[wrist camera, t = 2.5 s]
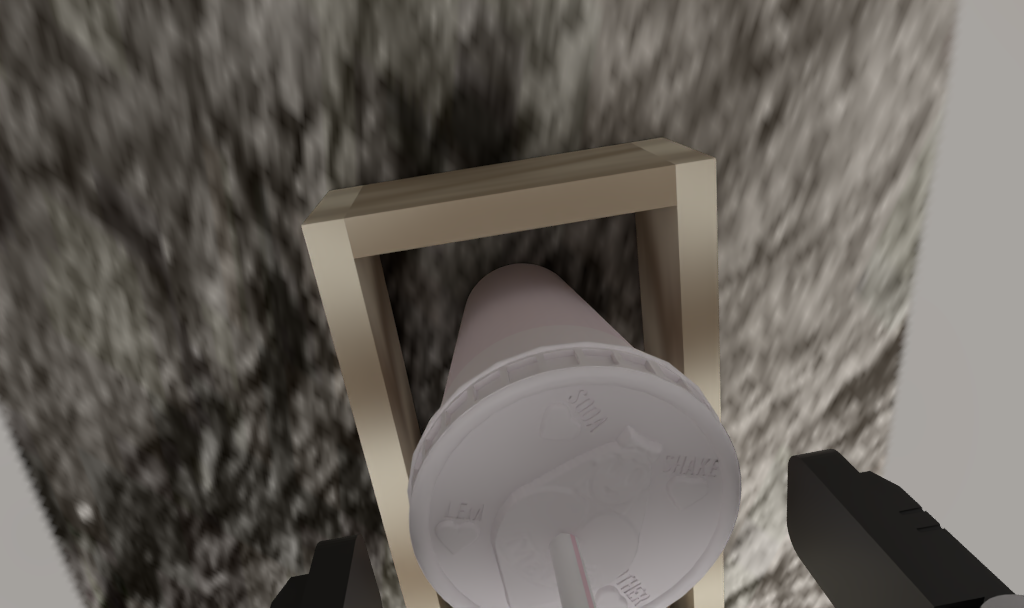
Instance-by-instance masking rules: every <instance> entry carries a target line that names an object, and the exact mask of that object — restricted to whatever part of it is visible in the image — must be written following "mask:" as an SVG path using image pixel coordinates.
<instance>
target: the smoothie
mask: <svg viewBox="0 0 1024 608" xmlns="http://www.w3.org/2000/svg"><path fill="white" fill-rule="evenodd" d="M407 493H408V499H409V505H410V507H409V531H410V538H411V544H412V547H413V551H414V554H415V557H416V559H417V562H418V564H419V566H420V568H421V570H422V572H423V574H424V575H425V577H426V579H427V580H428V582H429V583H430V584H431V586H432V587H433V588H434V590H435V591H436V592H437V593H438V594H439V595H440V596H441V597H442V598H443V599H444V600H445V601H446V602H447V603H448V604H450V605H451V606H452V607H453V608H666V607H668V606H669V605H671V604H672V603H674V602H675V601H677V600H678V599H680V598H681V597H683V596H684V595H685V594H686V593H687V592H688V591H689V590H690V589H691V588H692V587H694V586H695V585H696V584H697V583H698V582H699V581H700V580H701V579H702V578H703V577H704V576H705V574H706V573H707V572H708V571H709V569H710V568H711V567H712V566H713V564H714V563H715V562H716V560H717V559H718V557H719V556H720V554H721V553H722V551H723V549H724V547H725V546H726V544H727V542H728V540H729V538H730V535H731V533H732V531H733V528H734V525H735V522H736V519H737V516H738V511H739V506H740V499H741V474H740V467H739V462H738V458H737V455H736V451H735V449H734V446H733V444H732V441H731V439H730V437H729V435H728V434H727V432H726V430H725V428H724V427H723V425H722V424H721V423H720V420H719V417H718V415H717V414H716V412H715V411H714V409H713V408H712V406H711V405H710V403H709V402H708V400H707V399H706V397H705V396H704V394H703V392H702V391H701V389H700V388H699V387H698V386H697V385H696V384H695V383H693V382H692V381H691V380H690V379H689V378H687V377H686V376H685V375H684V374H682V373H681V372H680V371H679V370H677V369H676V368H675V367H674V366H672V365H671V364H670V363H669V362H666V361H664V360H662V359H659V358H657V357H654V356H652V355H650V354H647V353H645V352H642V351H640V350H638V349H635V348H634V347H633V346H632V345H630V344H629V343H628V342H627V341H626V340H625V339H624V338H623V337H622V336H621V335H620V334H619V333H618V332H617V331H616V330H615V329H614V328H613V327H612V326H611V325H610V324H608V323H607V322H606V321H605V320H604V319H603V318H602V317H601V316H600V315H599V314H598V313H597V312H596V311H595V310H594V309H593V308H592V307H591V306H590V305H589V304H588V303H587V302H585V301H584V300H583V299H582V298H581V297H580V296H579V295H578V294H577V293H576V292H575V291H574V290H573V289H572V288H571V287H570V286H569V285H568V284H567V283H566V282H565V281H564V280H562V279H561V278H560V277H559V276H558V275H557V274H555V273H554V272H552V271H551V270H549V269H547V268H544V267H542V266H538V265H534V264H527V263H518V264H511V265H507V266H503V267H500V268H498V269H496V270H494V271H492V272H490V273H489V274H487V275H486V276H485V277H483V278H482V279H481V280H480V281H479V282H478V283H477V284H476V285H475V287H474V288H473V290H472V291H471V293H470V295H469V297H468V299H467V302H466V305H465V309H464V313H463V317H462V321H461V325H460V329H459V334H458V338H457V342H456V346H455V350H454V354H453V358H452V363H451V367H450V371H449V375H448V379H447V383H446V387H445V392H444V396H443V400H442V404H441V407H440V408H439V410H438V411H437V412H436V413H435V414H434V415H433V416H432V417H431V418H430V420H429V423H428V425H427V427H426V429H425V431H424V433H423V435H422V437H421V439H420V441H419V443H418V445H417V447H416V449H415V451H414V453H413V457H412V463H411V470H410V476H409V482H408V489H407Z"/></svg>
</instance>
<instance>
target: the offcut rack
mask: <svg viewBox="0 0 1024 608" xmlns="http://www.w3.org/2000/svg"><path fill="white" fill-rule="evenodd" d="M634 212H635V220H636V235H637V250H638V264H639V279H640V294H641V308H642V323H643V338H644V352H645V353H647V354H650V355H652V356H654V357H657V358H659V359H662V360H664V361H666V362H669V363H670V364H671V365H672V366H674V367H675V368H676V369H677V370H679V371H680V372H681V373H682V374H684V375H685V376H686V377H687V378H689V379H690V380H691V381H692V382H693V383H695V384H696V385H697V386H698V387H699V388H700V389H701V391H702V392H703V394H704V396H705V397H706V399H707V400H708V402H709V403H710V405H711V406H712V408H713V409H714V411H715V412H716V414H717V415H718V417H719V420H720V423H721V405H720V350H719V295H718V239H717V184H716V158H714V157H712V156H709V155H707V154H704V153H702V152H699V151H697V150H694V149H691V148H689V147H686V146H684V145H681V144H679V143H676V142H674V141H671V140H669V139H666V138H663V137H661V138H655V139H649V140H643V141H637V142H630V143H624V144H618V145H612V146H605V147H599V148H593V149H587V150H580V151H574V152H568V153H562V154H555V155H549V156H543V157H537V158H530V159H524V160H518V161H512V162H505V163H499V164H493V165H487V166H481V167H474V168H468V169H462V170H456V171H449V172H443V173H437V174H431V175H424V176H418V177H412V178H406V179H399V180H393V181H387V182H381V183H374V184H368V185H362V186H356V187H349V188H343V189H337V190H331V191H329V192H328V193H327V194H326V195H325V197H324V198H323V199H322V200H321V202H320V203H319V204H318V205H317V206H316V208H315V209H314V210H313V211H312V213H311V214H310V215H309V216H308V218H307V219H306V220H305V221H304V223H303V224H302V225H301V227H302V230H303V234H304V237H305V241H306V245H307V248H308V252H309V256H310V259H311V263H312V267H313V270H314V274H315V277H316V281H317V285H318V288H319V292H320V296H321V299H322V303H323V307H324V310H325V314H326V317H327V321H328V325H329V328H330V332H331V336H332V339H333V343H334V346H335V350H336V354H337V357H338V361H339V365H340V368H341V372H342V376H343V379H344V383H345V386H346V390H347V394H348V397H349V401H350V405H351V408H352V412H353V416H354V419H355V423H356V426H357V430H358V434H359V437H360V441H361V445H362V448H363V452H364V456H365V459H366V463H367V466H368V470H369V474H370V477H371V481H372V485H373V488H374V492H375V496H376V499H377V503H378V506H379V510H380V514H381V517H382V521H383V525H384V528H385V532H386V536H387V539H388V543H389V546H390V550H391V554H392V557H393V561H394V565H395V568H396V572H397V576H398V579H399V583H400V586H401V590H402V594H403V597H404V601H405V605H406V608H453V607H452V606H451V605H450V604H448V603H447V602H446V601H445V600H444V599H443V598H442V597H441V596H440V595H439V594H438V593H437V592H436V591H435V590H434V588H433V587H432V586H431V584H430V583H429V582H428V580H427V579H426V577H425V575H424V574H423V572H422V570H421V568H420V566H419V564H418V562H417V559H416V557H415V554H414V551H413V547H412V544H411V538H410V531H409V507H410V505H409V499H408V493H407V489H408V482H409V476H410V470H411V463H412V457H413V453H414V451H415V449H416V447H417V445H418V443H419V441H420V439H421V433H420V429H419V425H418V420H417V416H416V412H415V407H414V403H413V399H412V394H411V390H410V386H409V381H408V377H407V373H406V368H405V364H404V360H403V355H402V351H401V347H400V342H399V338H398V334H397V329H396V325H395V321H394V316H393V312H392V308H391V303H390V299H389V295H388V290H387V286H386V282H385V277H384V273H383V269H382V264H381V260H380V256H379V254H385V253H391V252H397V251H403V250H409V249H415V248H421V247H427V246H433V245H439V244H446V243H452V242H458V241H464V240H470V239H476V238H482V237H488V236H494V235H500V234H506V233H512V232H518V231H524V230H530V229H536V228H543V227H549V226H555V225H561V224H567V223H573V222H579V221H585V220H591V219H597V218H603V217H609V216H615V215H621V214H627V213H634ZM670 608H724V572H723V551H722V553H721V554H720V556H719V557H718V559H717V560H716V562H715V563H714V564H713V566H712V567H711V568H710V569H709V571H708V572H707V573H706V574H705V576H704V577H703V578H702V579H701V580H700V581H699V582H698V583H697V584H696V585H695V586H694V587H692V588H691V589H690V590H689V591H688V592H687V593H686V594H685V595H684V596H683V597H681V598H680V599H678V600H677V601H675V602H674V603H672V604H671V605H670Z"/></svg>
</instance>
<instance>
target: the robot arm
mask: <svg viewBox="0 0 1024 608" xmlns="http://www.w3.org/2000/svg"><path fill="white" fill-rule="evenodd" d="M787 527H788V532H789V536H790V539H791V542H792V545H793V547H794V549H795V551H796V553H797V555H798V556H799V558H800V559H801V561H802V562H803V564H804V565H805V566H806V568H807V569H808V570H809V572H810V573H811V575H812V576H813V577H814V579H815V580H816V582H817V583H818V584H819V586H820V587H821V589H822V590H823V591H824V593H825V594H826V596H827V597H828V598H829V600H830V601H831V603H832V604H833V605H834V607H835V608H1024V595H1016V594H1015V593H1013V592H1012V591H1011V590H1010V589H1009V588H1008V587H1007V586H1006V585H1005V584H1004V583H1003V582H1002V581H1000V580H999V579H998V578H997V577H996V576H995V575H994V574H993V573H992V572H991V571H990V570H989V569H987V567H985V566H984V565H983V564H982V563H981V562H980V561H979V560H978V559H977V558H976V557H975V556H974V555H973V554H972V553H970V552H969V551H968V550H967V549H966V548H965V547H964V546H963V545H962V544H961V543H960V542H959V541H958V540H956V539H955V538H954V537H953V536H952V535H951V534H950V533H949V532H948V531H947V530H946V529H942V528H941V527H940V524H939V523H938V522H937V521H936V520H935V519H934V518H933V517H932V516H931V515H930V514H929V513H928V512H926V511H925V512H924V511H923V510H922V507H921V506H920V505H919V504H918V503H917V502H916V501H915V500H913V498H911V497H910V496H909V495H908V494H907V493H906V492H905V491H904V490H903V489H902V488H901V487H899V486H898V485H896V484H894V483H892V482H890V481H888V480H886V479H884V478H882V477H880V476H879V475H877V474H875V473H873V472H871V471H867V472H862V473H859V472H858V471H857V470H856V469H855V468H854V467H853V466H852V465H851V464H850V463H849V462H848V461H847V460H846V459H845V458H844V457H843V456H842V455H841V454H840V453H839V452H838V451H836V450H834V449H827V450H822V451H817V452H811V453H806V454H800V455H795V456H792V457H791V458H790V460H789V463H788V490H787ZM270 608H382V602H381V597H380V593H379V590H378V586H377V583H376V580H375V576H374V573H373V569H372V566H371V562H370V559H369V555H368V552H367V548H366V545H365V542H364V539H363V537H362V536H361V535H360V534H358V535H353V536H347V537H342V538H336V539H331V540H326V541H320V542H319V543H318V544H317V546H316V549H315V553H314V557H313V560H312V564H311V568H310V572H309V574H306V575H300V576H295V577H291V578H290V579H289V580H288V582H287V583H286V584H285V586H284V587H283V588H282V590H281V591H280V592H279V594H278V595H277V596H276V598H275V599H274V600H273V602H272V604H271V607H270Z"/></svg>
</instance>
